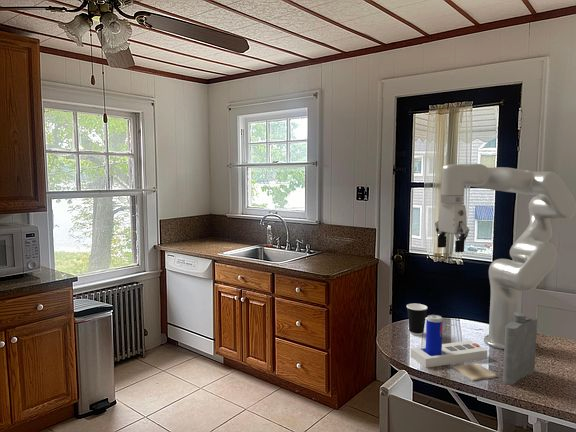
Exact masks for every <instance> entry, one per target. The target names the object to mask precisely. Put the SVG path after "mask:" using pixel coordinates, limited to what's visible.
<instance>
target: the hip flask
mask: <svg viewBox="0 0 576 432" xmlns="http://www.w3.org/2000/svg"><path fill="white" fill-rule="evenodd" d="M513 316H514V321H512V322H510V323H508V324H507V325H506V326H505V347H504V349H503V350H504V351H503V352H504V353H503V372H502V383H503V384H505V385H507V386H513V385H515V384H516V383H517V382H518V381H520V379H522V378H524V377H527V376H528V375H531V374H534V373H535V366H536V351H537V348H536V347H537V329H538V318H537V317H534V316H527V314H525V313H523V312H519V313H513Z"/></svg>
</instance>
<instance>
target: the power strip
mask: <svg viewBox="0 0 576 432" xmlns="http://www.w3.org/2000/svg"><path fill="white" fill-rule="evenodd" d="M410 358H412V359H413V360H414V361H416V362H417V363H418V364H420V365H421V366H422V367H424V368H426V369H427V368H433V367H440V366H446V365H454V364H455V365H456V364H461V363H467V362H473V361H480V360H481V361H482V360H486V359H488V349H485V348H484V347H482V346H480V344H478V343H476V342H473V341H471V340H464V341H456V342H449V343H448V342H447V343H442V355H437V356H430V355H428V354H427V353H426V345H425V346H419V347H418V346H417V347H410Z"/></svg>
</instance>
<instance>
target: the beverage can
mask: <svg viewBox="0 0 576 432" xmlns="http://www.w3.org/2000/svg"><path fill="white" fill-rule="evenodd" d="M443 323H444V320H443V317H442V316H441V315H439V314H437V315H436V314H429V315H426V322H425V324H426V325H425V326H426V327H425V328H426V329H425V330H426V331H425V346H426V353H427V354H428V355H430V356H437V355H442V344H443Z"/></svg>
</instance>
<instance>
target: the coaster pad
mask: <svg viewBox="0 0 576 432" xmlns="http://www.w3.org/2000/svg"><path fill="white" fill-rule="evenodd" d="M453 369H455V371H457V372H458V373H460V374H461V375H463V376H465V377H466V378H468V379H469V380H470V381H472V382H474V381H475V382H476V381H479V380H486V379H493V378H497V377H498V375H497V374H496V373H494V372H493V371H491V370H489V369H488V368H486V367H484V366H483V365H481V364H479V363H478V362H477V363H469V364H462V365H456V366H453Z"/></svg>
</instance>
